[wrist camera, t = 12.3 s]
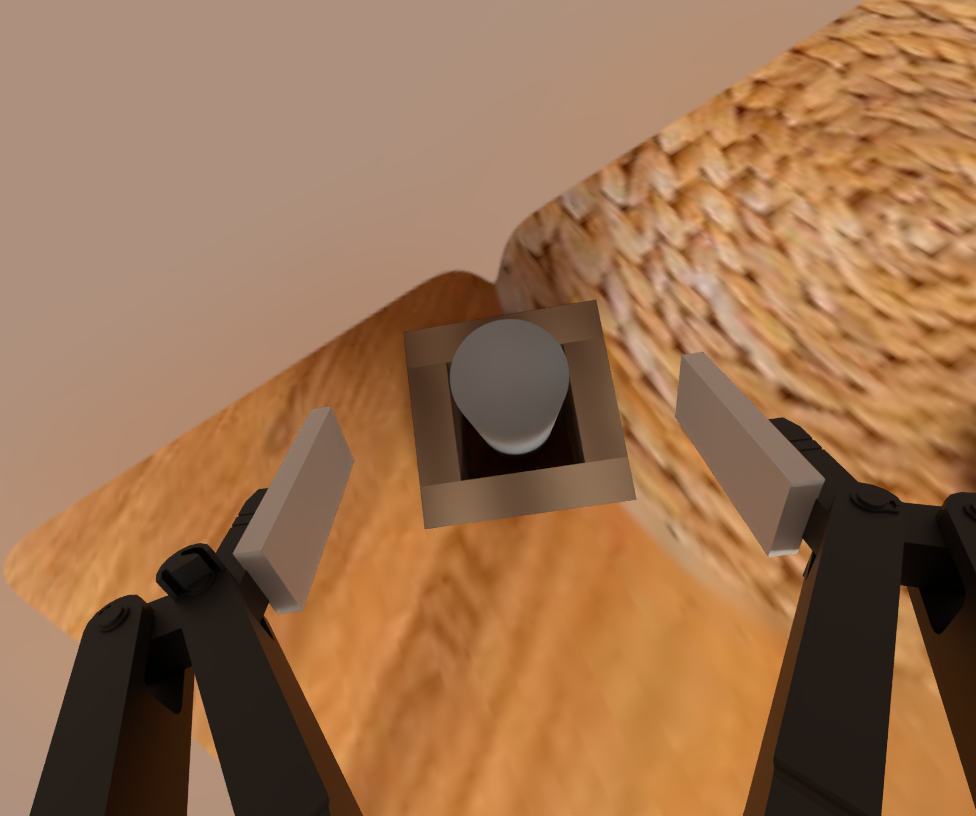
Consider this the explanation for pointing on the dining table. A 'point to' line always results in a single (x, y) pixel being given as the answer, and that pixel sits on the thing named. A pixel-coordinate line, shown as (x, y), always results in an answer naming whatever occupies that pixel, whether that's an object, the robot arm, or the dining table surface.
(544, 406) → the grey cylinder
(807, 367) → the dining table surface
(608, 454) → the socket
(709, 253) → the dining table surface
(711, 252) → the dining table surface
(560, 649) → the dining table surface
